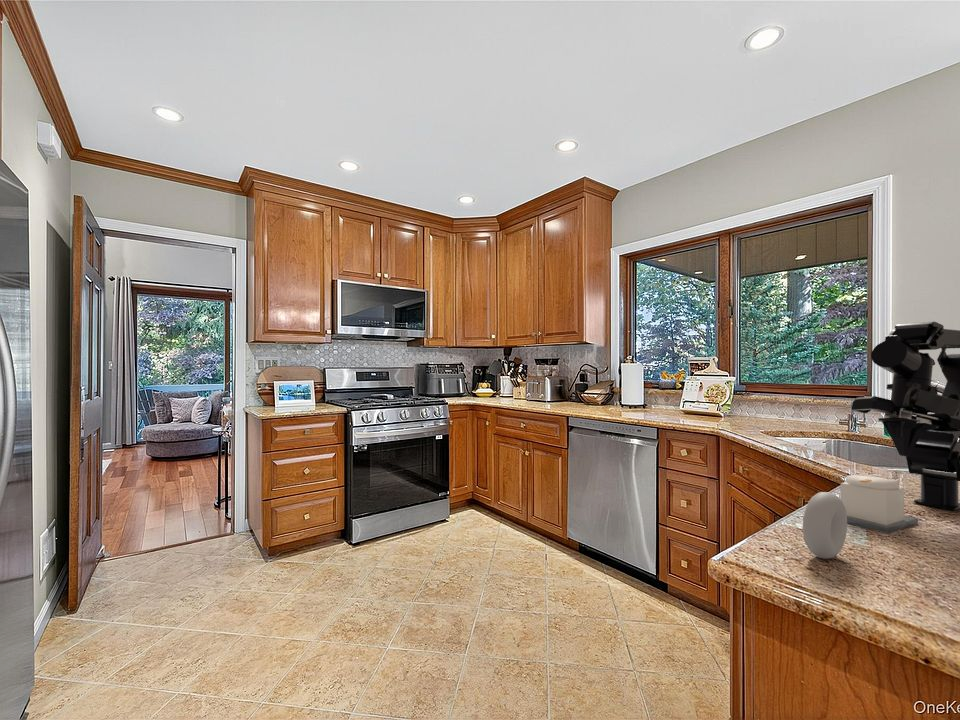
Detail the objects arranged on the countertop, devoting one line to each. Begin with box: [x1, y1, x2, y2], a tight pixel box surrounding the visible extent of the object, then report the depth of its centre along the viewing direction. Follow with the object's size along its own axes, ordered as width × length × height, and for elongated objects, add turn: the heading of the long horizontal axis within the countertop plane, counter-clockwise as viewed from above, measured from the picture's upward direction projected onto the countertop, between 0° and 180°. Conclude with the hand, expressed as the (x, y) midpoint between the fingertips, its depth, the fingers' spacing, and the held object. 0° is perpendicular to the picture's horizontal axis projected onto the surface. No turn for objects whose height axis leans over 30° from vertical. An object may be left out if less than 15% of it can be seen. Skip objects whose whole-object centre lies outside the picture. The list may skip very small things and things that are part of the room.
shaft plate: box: [847, 514, 919, 534], centre depth 87 cm, size 12×10×7 cm
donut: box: [802, 491, 848, 560], centre depth 70 cm, size 10×3×10 cm, turn 124°
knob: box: [840, 474, 905, 525], centre depth 86 cm, size 8×8×7 cm
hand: (903, 456), depth 91 cm, fingers closed
